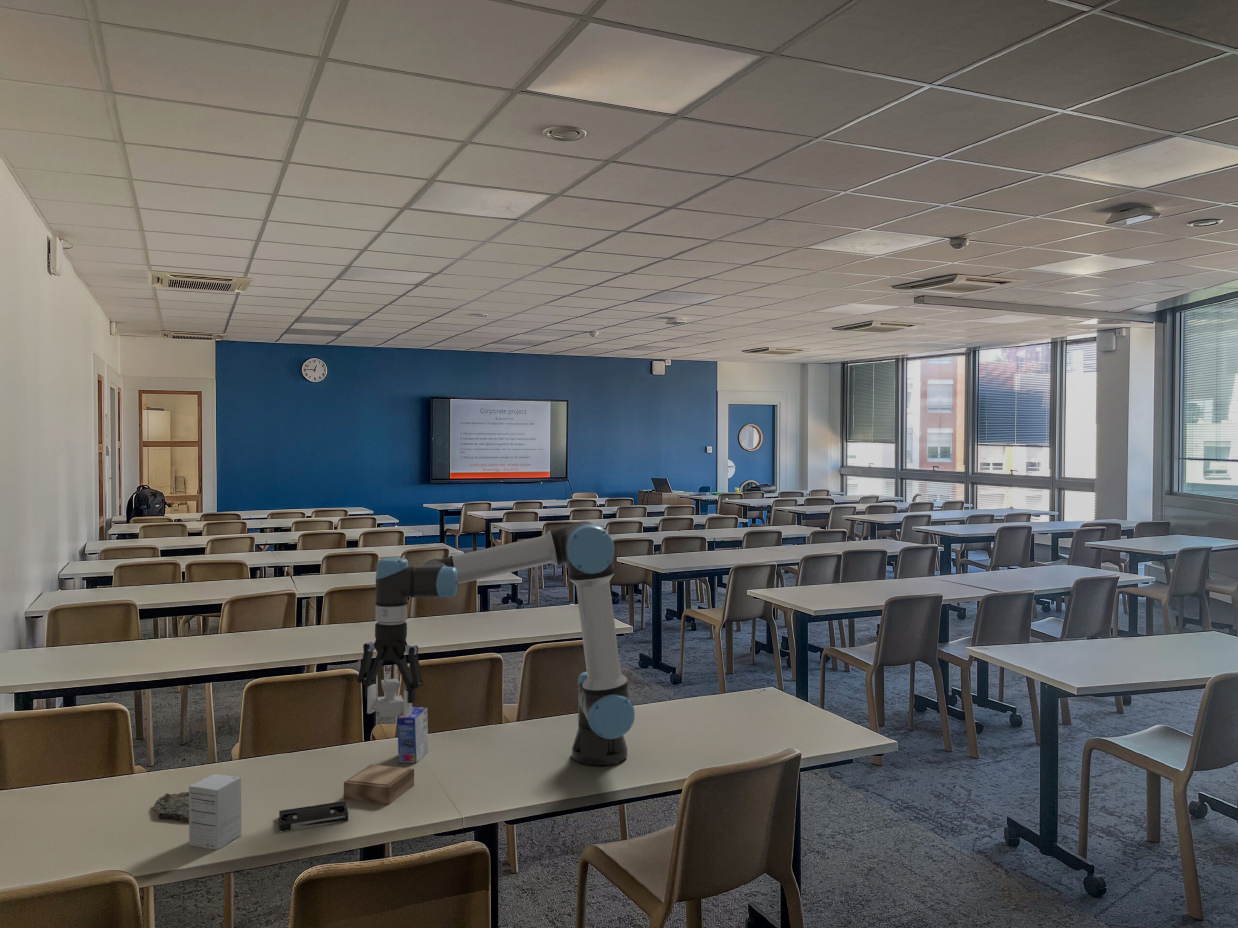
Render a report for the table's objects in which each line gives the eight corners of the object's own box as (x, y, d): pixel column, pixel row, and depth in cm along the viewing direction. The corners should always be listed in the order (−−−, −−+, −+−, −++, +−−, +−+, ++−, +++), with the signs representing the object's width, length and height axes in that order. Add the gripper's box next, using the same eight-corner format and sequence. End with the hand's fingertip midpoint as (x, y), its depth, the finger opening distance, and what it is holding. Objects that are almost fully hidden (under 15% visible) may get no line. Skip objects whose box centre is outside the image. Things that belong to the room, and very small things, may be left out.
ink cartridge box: (409, 749, 233) (409, 697, 233) (428, 750, 232) (428, 698, 232) (396, 762, 223) (396, 708, 223) (416, 763, 222) (416, 709, 222)
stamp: (406, 709, 209) (407, 675, 209) (410, 717, 203) (410, 682, 203) (369, 712, 206) (370, 678, 206) (371, 720, 200) (372, 685, 200)
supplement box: (214, 830, 182) (214, 772, 182) (242, 835, 180) (242, 776, 180) (187, 845, 175) (187, 785, 175) (216, 850, 173) (216, 789, 173)
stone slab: (179, 796, 202) (178, 784, 202) (236, 804, 197) (236, 791, 197) (135, 818, 190) (135, 805, 190) (195, 827, 185) (195, 813, 185)
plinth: (414, 784, 208) (414, 767, 208) (389, 804, 196) (389, 786, 196) (370, 780, 211) (370, 763, 211) (343, 798, 199) (343, 781, 199)
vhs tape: (279, 833, 182) (279, 824, 182) (279, 819, 189) (279, 810, 189) (348, 822, 187) (348, 813, 187) (345, 809, 194) (345, 800, 194)
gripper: (342, 621, 204) (341, 713, 204) (424, 627, 198) (422, 722, 198) (360, 616, 211) (358, 705, 211) (439, 622, 205) (437, 713, 206)
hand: (389, 713), depth 205 cm, fingers closed on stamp, 9 cm apart
